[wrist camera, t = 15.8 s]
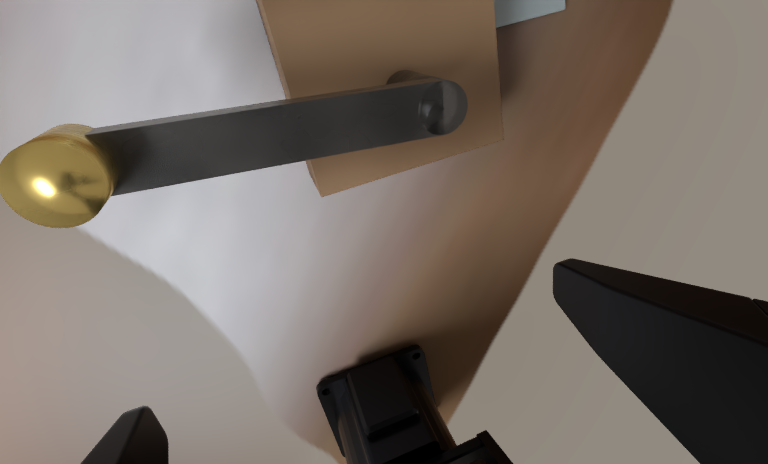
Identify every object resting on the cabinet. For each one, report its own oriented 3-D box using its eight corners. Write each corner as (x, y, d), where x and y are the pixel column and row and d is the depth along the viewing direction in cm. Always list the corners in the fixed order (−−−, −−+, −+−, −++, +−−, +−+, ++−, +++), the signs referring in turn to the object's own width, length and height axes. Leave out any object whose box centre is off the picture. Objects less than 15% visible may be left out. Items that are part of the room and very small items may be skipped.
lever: (423, 61, 16) (487, 73, 12) (426, 116, 16) (487, 146, 12) (56, 112, 13) (-23, 151, 9) (84, 175, 14) (23, 236, 10)
